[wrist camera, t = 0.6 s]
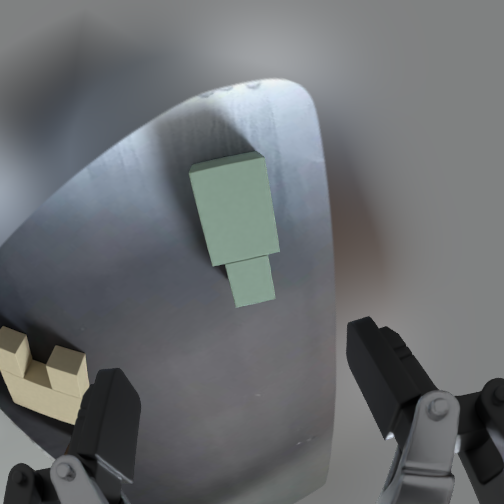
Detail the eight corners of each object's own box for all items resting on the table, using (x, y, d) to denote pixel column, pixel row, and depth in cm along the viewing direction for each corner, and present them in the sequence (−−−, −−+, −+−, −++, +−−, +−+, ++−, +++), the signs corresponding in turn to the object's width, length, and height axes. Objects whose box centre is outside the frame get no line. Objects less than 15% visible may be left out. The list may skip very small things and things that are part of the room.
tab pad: (191, 164, 22) (188, 172, 18) (256, 150, 22) (264, 156, 19) (222, 287, 26) (224, 310, 23) (277, 274, 27) (286, 296, 24)
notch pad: (2, 325, 25) (-10, 343, 22) (85, 353, 28) (77, 375, 25) (21, 385, 30) (14, 402, 27) (93, 409, 33) (88, 429, 29)
